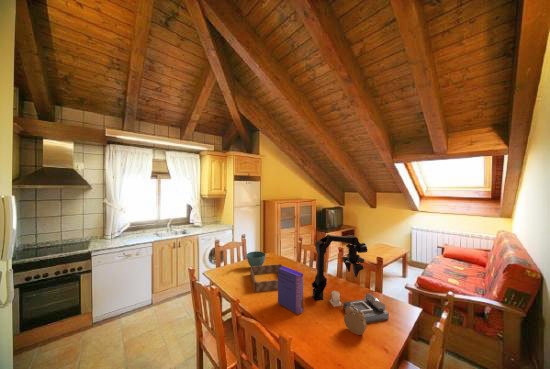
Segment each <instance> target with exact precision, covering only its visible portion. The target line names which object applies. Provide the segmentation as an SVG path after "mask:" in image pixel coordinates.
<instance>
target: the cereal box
mask: <svg viewBox="0 0 550 369" xmlns="http://www.w3.org/2000/svg"><path fill="white" fill-rule="evenodd" d="M277 280H278V290H277V304H279V305H280V306H282V307H284V308H285V309H287V310H289V311H291V312H292V313H295V314H297V315H300V314H302V313H303V312H304V273H302V272H299V271H297V270H295V269H292V268H290V267H287V266H284V265H282V266H281V267H279V268H278V272H277Z"/></svg>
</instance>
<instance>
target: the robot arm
mask: <svg viewBox="0 0 550 369" xmlns="http://www.w3.org/2000/svg"><path fill="white" fill-rule="evenodd" d="M332 242H335V243H337V242H338V243H346V245H345V247H346V248H347V249H348V253H347V254H346V255H347V256H343V257H342V261H343V263H344V265H345V267H346V269H347V272H348V273H350V272H351V265H352V271H353V276H354V277H355V278H358V275H359V272H361V271H363V270H364V267H363V266H364V264H363V265H361V264H357V263H359V262H360V263H365V260H366V259H364V258H362V257H361V255H359V254H362V253H368V247H367V244H366V243H365V242H361V243H360V241H359V239H358V237H357V236H354V235H351V234H350V235H349V234H348V235H344V236H343V235H331V234H327V235H325V236H324V237H322V238H320V239H318V240H317V241H316V242H315V250H316V253H317V257H316V258H317V259H316V260H317V261H316V275H315V277H314V281H313V282H312V283H311V287H312V295H311V298H312V299H313V300H314V302H317V301H324V290H325V288H326V287H327V285H328V284H327V281H328V279H327V277H325V275H324V274H325V255H326V252H327V249H328V248H329V246H330V245H331V243H332Z"/></svg>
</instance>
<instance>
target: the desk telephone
mask: <svg viewBox="0 0 550 369" xmlns="http://www.w3.org/2000/svg"><path fill="white" fill-rule="evenodd" d="M350 305H355V306H357V307H358V308H359V309H360V311H362V312H363V313H364V315H365V321H366V324H371V323H377V322H382V321H387V320H389V318H390V317H389V312H388V311H387V310H386V304H385V303H383V302H382V301H381V300H380V299H378V298H377V297H376V296H374V295H373V294H372V293H371V292H367V293H366V294H365V295H364V299H357V300H351V301H349V300H348V301H344V302H343V303H342V308H343V310H344V311H345V309H346V308H347V306H348V307H349V306H350ZM350 307H352V308H353V309H354V310H355V311H358V309H357V308H355V307H353V306H350Z"/></svg>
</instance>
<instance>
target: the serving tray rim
mask: <svg viewBox="0 0 550 369" xmlns="http://www.w3.org/2000/svg"><path fill="white" fill-rule="evenodd" d="M281 266H283V264H282V263H279V264H278V263H277V264H267V265H266V264H265V265H264V264H263V265H262V266H253V267H251V266H250V273H249V274H250V278H251V282H252V285H253V290H254V293H259V292H269V291H276V290H277V291H278V279H273V280H263V281H257V280H256V278H255V275H256V276H257V275H264V274H265V275H266V274H274V273H276V274H278V268H279V267H281Z"/></svg>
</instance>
